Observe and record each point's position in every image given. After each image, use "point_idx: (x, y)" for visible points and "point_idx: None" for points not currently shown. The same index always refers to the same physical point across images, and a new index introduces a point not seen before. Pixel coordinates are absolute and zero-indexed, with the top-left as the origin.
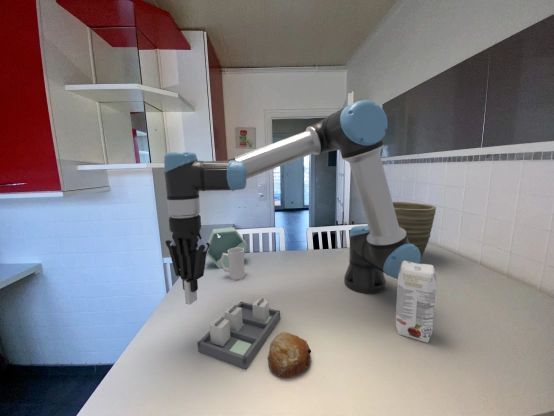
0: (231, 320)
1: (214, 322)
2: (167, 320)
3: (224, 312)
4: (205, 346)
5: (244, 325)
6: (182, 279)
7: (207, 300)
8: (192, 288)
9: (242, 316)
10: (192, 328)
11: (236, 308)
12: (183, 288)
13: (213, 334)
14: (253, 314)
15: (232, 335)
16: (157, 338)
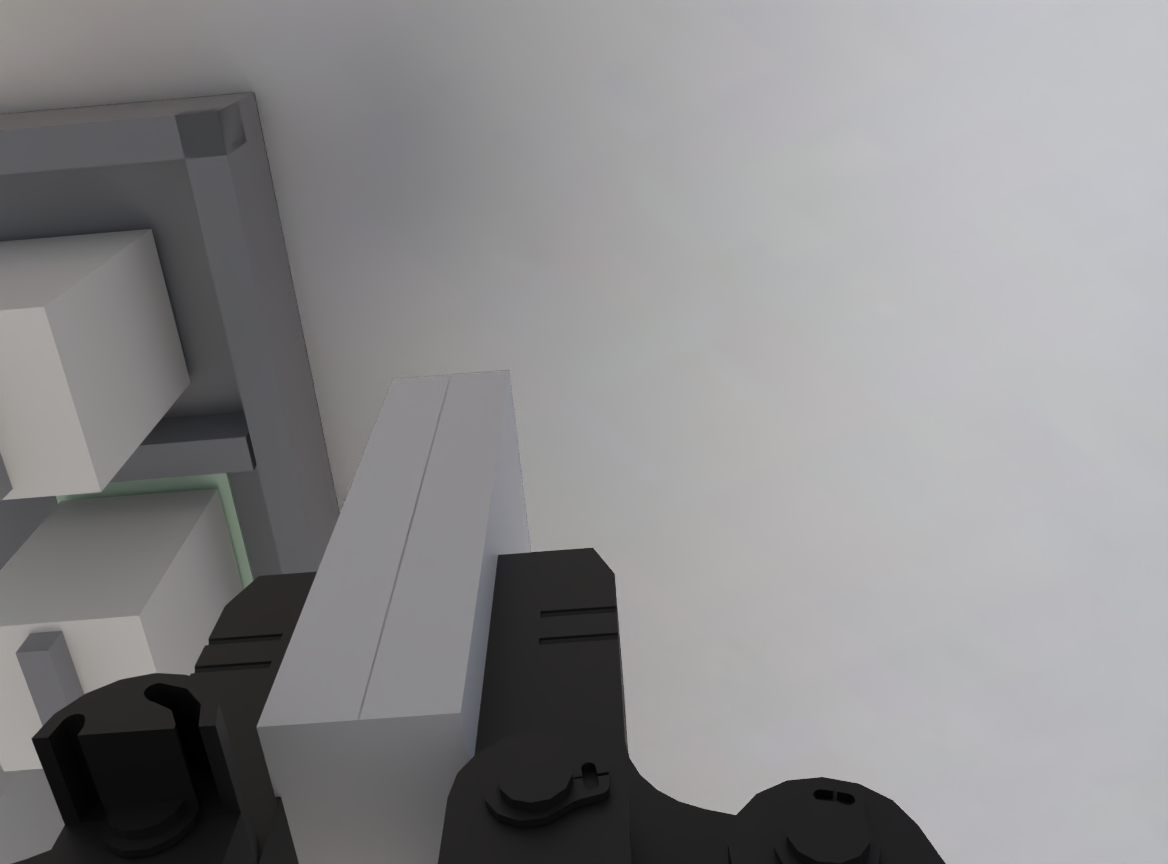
0: (61, 567)
1: (33, 382)
2: (1093, 312)
3: (135, 612)
4: (93, 121)
5: None
6: (534, 734)
7: (894, 780)
8: (264, 634)
9: None
10: (657, 349)
11: None
12: (597, 570)
13: (41, 269)
14: (10, 771)
15: None
16: (935, 9)
